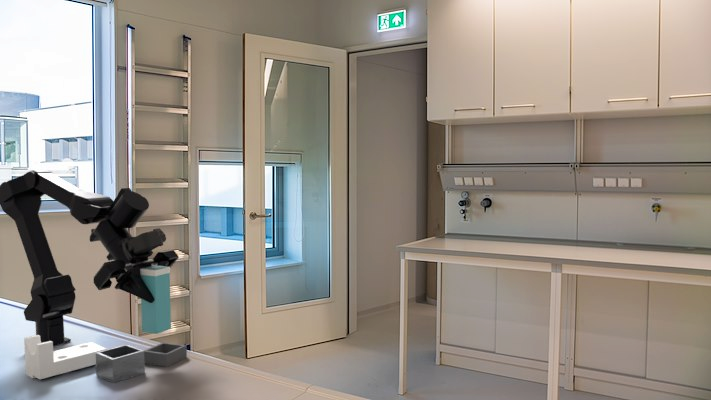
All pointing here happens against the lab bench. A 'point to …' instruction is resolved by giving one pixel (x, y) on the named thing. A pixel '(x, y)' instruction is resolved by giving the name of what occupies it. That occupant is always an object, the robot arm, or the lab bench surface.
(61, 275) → the robot arm
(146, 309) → the plug
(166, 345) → the frame
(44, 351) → the bracket
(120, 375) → the box
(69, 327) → the lab bench surface
